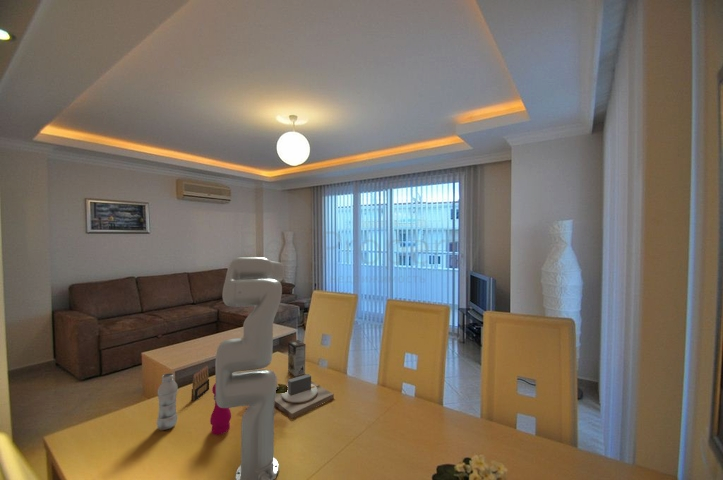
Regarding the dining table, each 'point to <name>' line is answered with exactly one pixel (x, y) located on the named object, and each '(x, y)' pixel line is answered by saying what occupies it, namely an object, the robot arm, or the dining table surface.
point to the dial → (300, 389)
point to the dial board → (302, 407)
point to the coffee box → (296, 357)
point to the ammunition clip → (200, 384)
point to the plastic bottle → (167, 403)
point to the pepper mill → (219, 417)
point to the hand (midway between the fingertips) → (263, 327)
